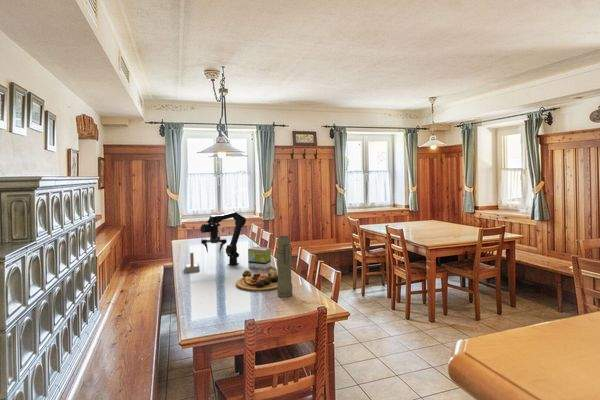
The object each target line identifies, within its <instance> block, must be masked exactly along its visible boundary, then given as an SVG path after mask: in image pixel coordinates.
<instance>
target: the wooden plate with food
mask: <svg viewBox="0 0 600 400" xmlns="http://www.w3.org/2000/svg"><path fill="white" fill-rule="evenodd" d="M241 276H242V277H241V278H239V279H238V280H236V282H235V286H236V288H237V289H239V290H242V291H244V290H245V291H246V292H253V291H255V292H256V291H260V292H269V291H274V290H277V284H278V273H277V272H276V271H275V270H274V269H269V271H268V272H267V274H265V273H261V272H254V273H253V274H252V272H251V271H250V270H248V269H245V270H244V271H243V272H242V275H241ZM255 292H254V293H255ZM256 293H257V292H256Z"/></svg>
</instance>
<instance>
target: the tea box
mask: <svg viewBox="0 0 600 400" xmlns="http://www.w3.org/2000/svg"><path fill="white" fill-rule="evenodd" d="M271 250H272V248H271V247H262V246H261V247H260V246H253V247H251V248H248V249H247V261H248V268H253V269H260V268H261V270H266V269H268V268H270V267H271V266H272V251H271Z"/></svg>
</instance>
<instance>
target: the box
mask: <svg viewBox="0 0 600 400" xmlns="http://www.w3.org/2000/svg"><path fill="white" fill-rule="evenodd" d="M197 265H198V266H195V267H186V263H184V271H185V273H196V272H200V263H199V262H197Z"/></svg>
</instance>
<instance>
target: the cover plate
mask: <svg viewBox="0 0 600 400" xmlns="http://www.w3.org/2000/svg"><path fill="white" fill-rule="evenodd" d="M194 259H195V257H194V252H190V253H189V260H190V263H188V264H186V263H185V264H186V267H195V266H198V263H195V261H194Z"/></svg>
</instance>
